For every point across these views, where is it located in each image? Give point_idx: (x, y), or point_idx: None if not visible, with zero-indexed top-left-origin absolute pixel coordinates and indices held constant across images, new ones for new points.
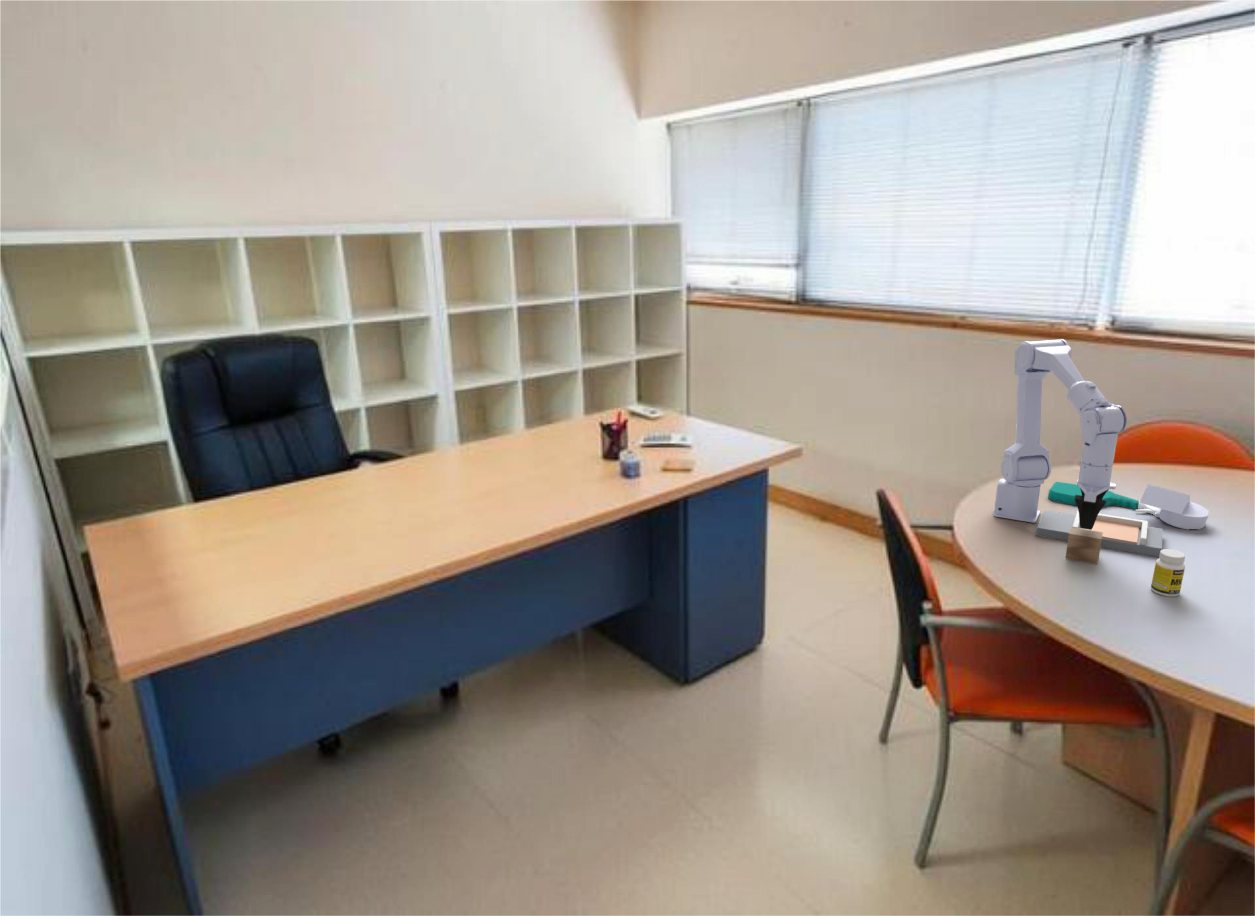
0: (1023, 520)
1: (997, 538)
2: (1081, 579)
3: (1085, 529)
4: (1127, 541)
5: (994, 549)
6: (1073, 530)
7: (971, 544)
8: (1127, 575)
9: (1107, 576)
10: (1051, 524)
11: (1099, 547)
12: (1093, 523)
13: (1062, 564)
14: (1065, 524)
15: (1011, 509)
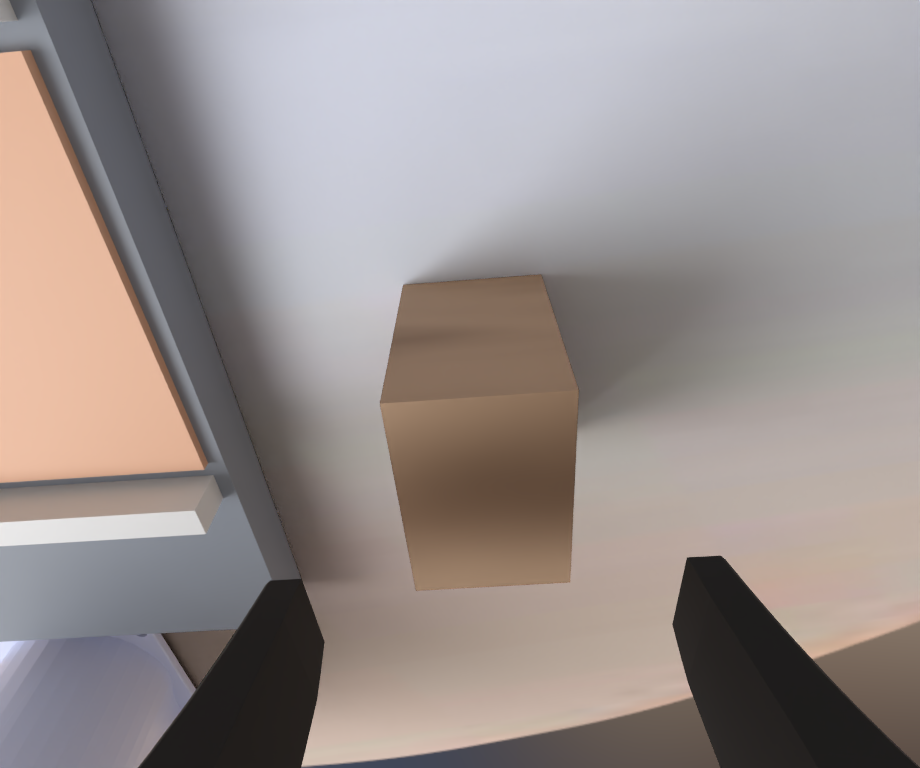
0: (168, 650)
1: (455, 670)
2: (841, 318)
3: (110, 450)
4: (66, 145)
5: (589, 658)
6: (482, 571)
7: (578, 711)
8: (659, 39)
9: (736, 181)
10: (184, 589)
11: (561, 345)
12: (785, 630)
13: (640, 434)
14: (114, 541)
15: (156, 731)
